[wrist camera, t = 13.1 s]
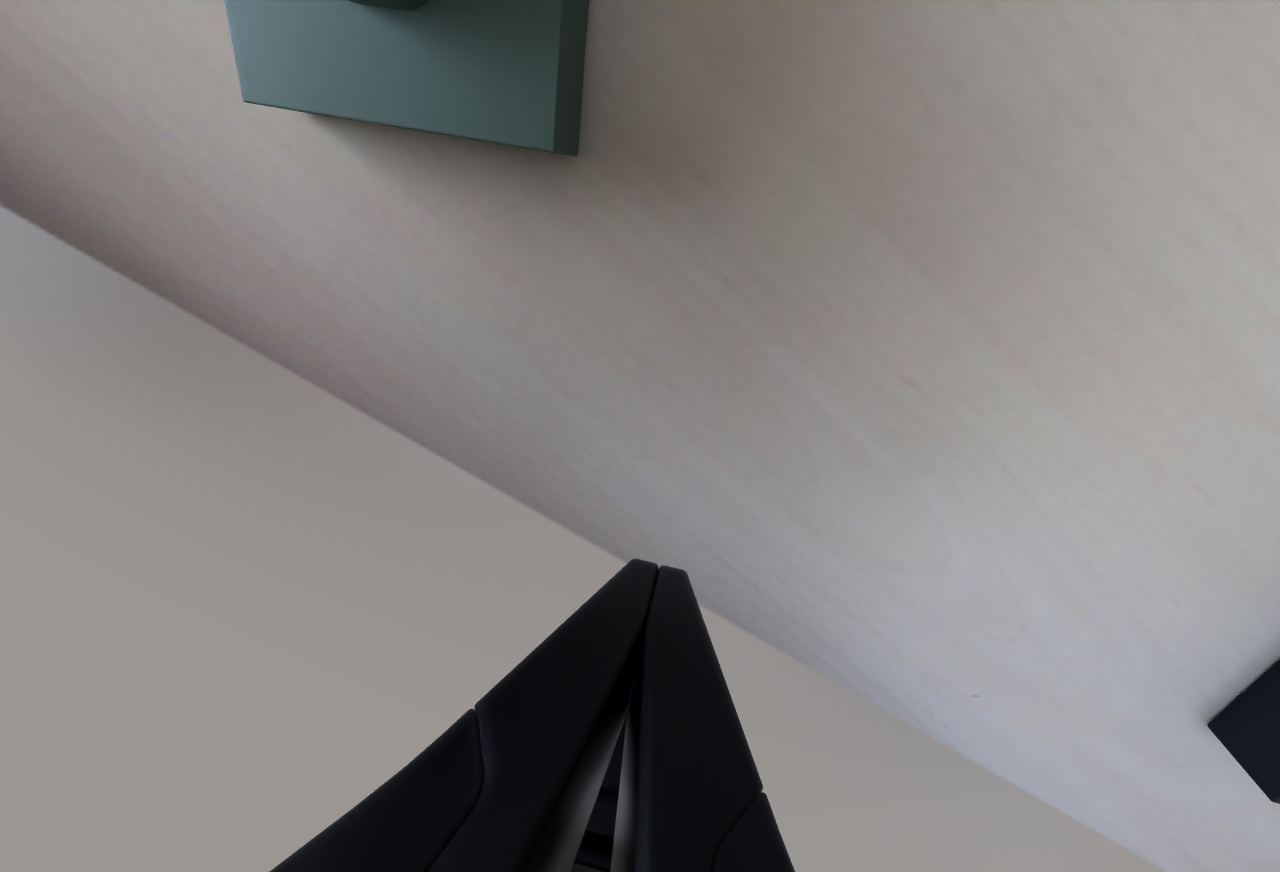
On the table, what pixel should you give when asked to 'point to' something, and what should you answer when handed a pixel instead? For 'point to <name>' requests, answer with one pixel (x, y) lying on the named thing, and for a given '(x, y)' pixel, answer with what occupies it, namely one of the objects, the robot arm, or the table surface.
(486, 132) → the button block
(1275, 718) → the panel
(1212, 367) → the table surface
